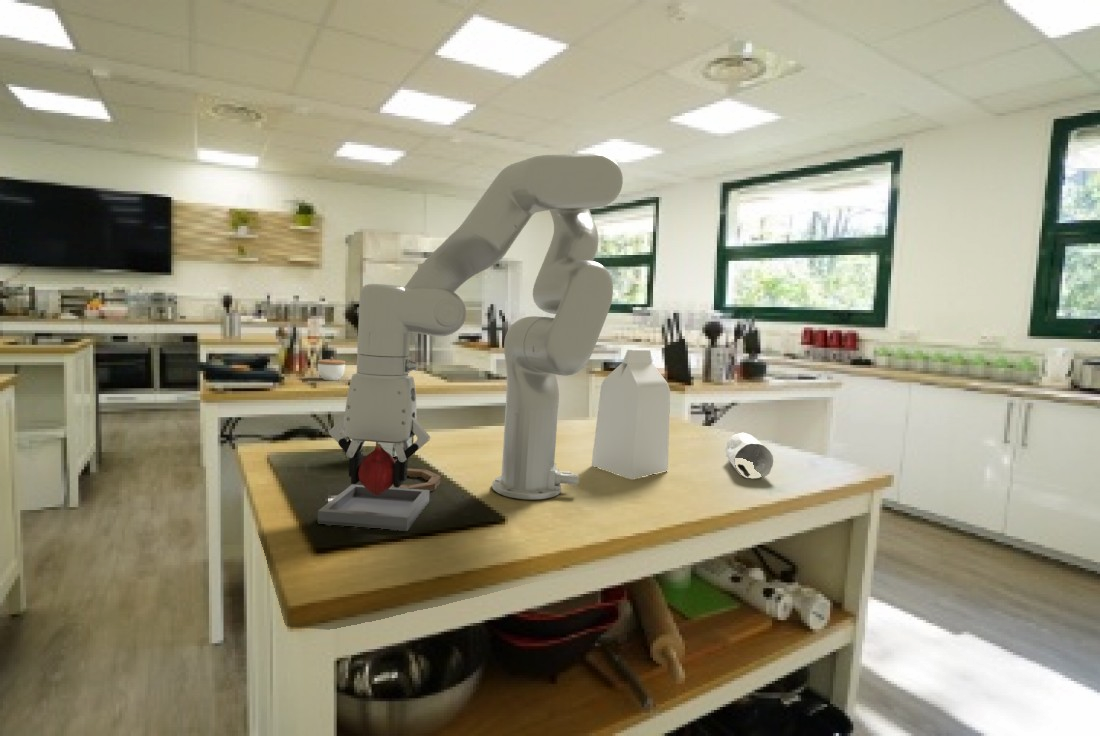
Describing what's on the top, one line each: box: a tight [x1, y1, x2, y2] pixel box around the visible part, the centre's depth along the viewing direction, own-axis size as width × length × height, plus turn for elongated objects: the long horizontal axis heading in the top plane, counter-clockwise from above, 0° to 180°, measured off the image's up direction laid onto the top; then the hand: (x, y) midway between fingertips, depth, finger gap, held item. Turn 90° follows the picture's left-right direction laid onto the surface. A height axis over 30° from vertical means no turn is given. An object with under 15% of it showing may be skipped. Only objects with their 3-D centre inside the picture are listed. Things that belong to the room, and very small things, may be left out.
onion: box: [358, 444, 396, 496], centre depth 88 cm, size 6×6×8 cm
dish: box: [316, 484, 431, 532], centre depth 88 cm, size 13×13×2 cm
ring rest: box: [391, 467, 442, 492], centre depth 103 cm, size 12×12×1 cm
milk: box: [591, 349, 671, 480], centre depth 123 cm, size 12×12×26 cm
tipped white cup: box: [724, 431, 774, 478], centre depth 130 cm, size 8×19×8 cm, turn 172°
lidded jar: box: [317, 356, 346, 381], centre depth 234 cm, size 11×11×9 cm
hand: (377, 482), depth 88 cm, fingers closed on onion, 5 cm apart
